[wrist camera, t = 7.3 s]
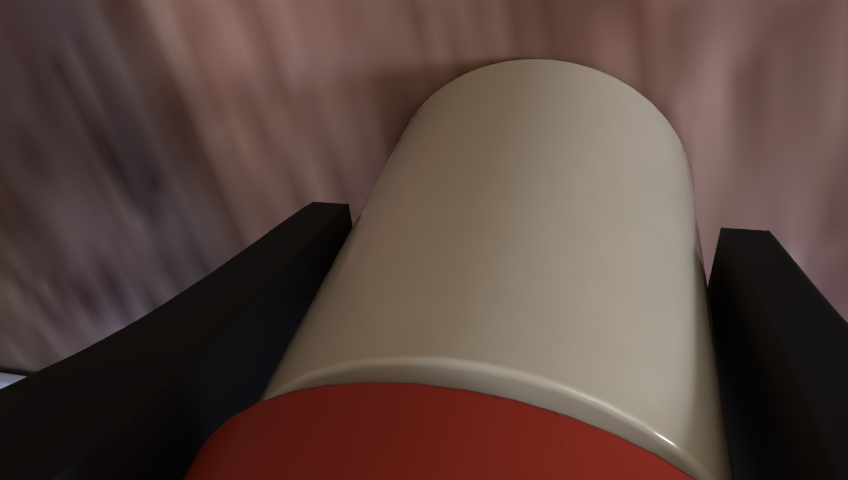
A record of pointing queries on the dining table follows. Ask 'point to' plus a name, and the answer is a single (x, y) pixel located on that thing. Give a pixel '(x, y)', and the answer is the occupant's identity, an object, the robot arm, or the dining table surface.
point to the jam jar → (532, 264)
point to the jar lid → (416, 439)
